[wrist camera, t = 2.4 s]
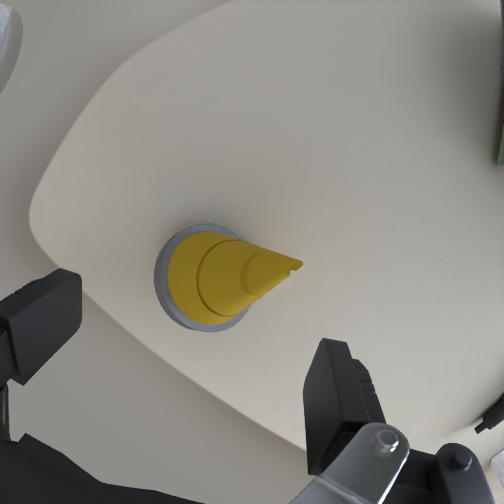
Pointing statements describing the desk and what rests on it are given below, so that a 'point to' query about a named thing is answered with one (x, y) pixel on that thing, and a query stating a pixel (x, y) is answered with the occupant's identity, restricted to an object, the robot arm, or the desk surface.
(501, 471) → the perfume bottle
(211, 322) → the yellow stepped cone
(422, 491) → the robot arm
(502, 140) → the drawer
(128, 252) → the desk surface
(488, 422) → the micrometer
